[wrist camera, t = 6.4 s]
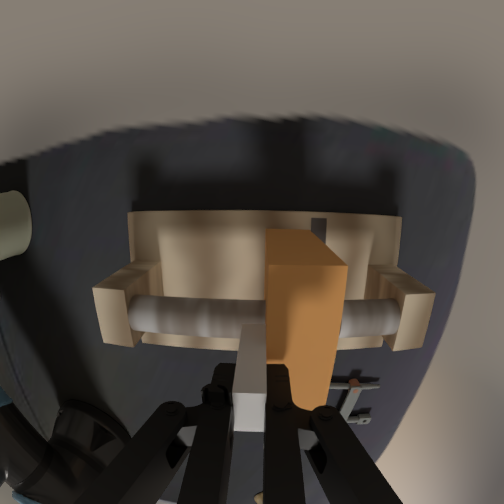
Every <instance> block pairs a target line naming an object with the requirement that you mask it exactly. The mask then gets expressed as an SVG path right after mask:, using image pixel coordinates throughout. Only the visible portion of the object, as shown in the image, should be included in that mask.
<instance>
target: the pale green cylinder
mask: <svg viewBox="0 0 504 504" xmlns="http://www.w3.org/2000/svg"><path fill="white" fill-rule="evenodd" d="M31 235H32V218H31V212H30V208H29V206H28V203H27V201H26V199H25V198H24V196H23V195H22V194H21V193H20V192H18V191H9V192H5V193H0V260H3V259H6V258H8V257H11V256H14V255H20V254H22V253H23V252H25V250H26V249H27V248H28V246H29V243H30V240H31Z"/></svg>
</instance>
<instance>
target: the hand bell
mask: <svg viewBox="0 0 504 504" xmlns="http://www.w3.org/2000/svg"><path fill="white" fill-rule="evenodd" d="M254 500H255V501H256V502H257V503H258V504H263V492H261V493H259V494H257V495H256V496H255V497H254Z"/></svg>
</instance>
